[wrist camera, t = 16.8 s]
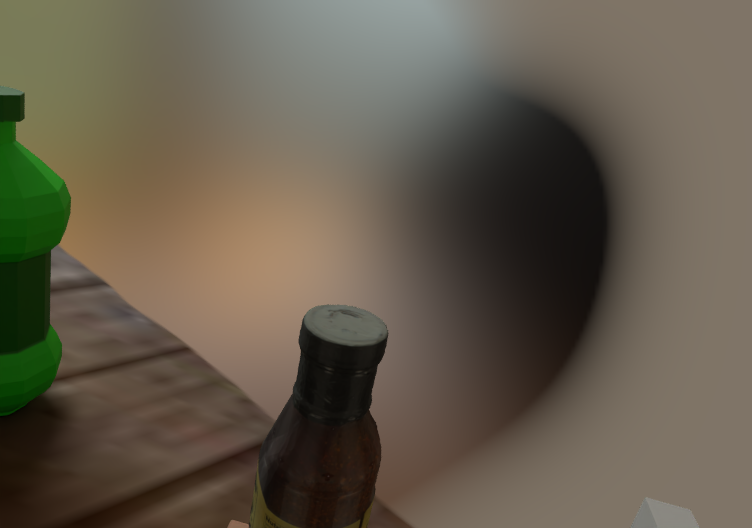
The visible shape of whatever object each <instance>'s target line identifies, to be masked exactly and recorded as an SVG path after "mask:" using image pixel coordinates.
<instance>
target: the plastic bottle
mask: <svg viewBox="0 0 752 528" xmlns="http://www.w3.org/2000/svg"><path fill="white" fill-rule="evenodd" d="M23 119H24V92H22V91H19V90H16V89H13V88H9V87H4V86H0V416H4V415H10V414H11V413H13V412H15V411H16V410H18V409H20V408H22V407H23V406H25V405H27V402H29V401H31V400H33V399H34V398H36V397H37V396H39V395H41V394H42V393H44V392H45V391H46V390H47V389H48V388H49V387H50V386H51V384H52V382H53V380H54V378H55V376H56V374H57V370H58V367H59V363H60V360H61V357H62V343H61V341H60V339H59V337H58V335H57V333H56V332H55V330H54V329H53V327H52V326H51V325H50V277H51V250H52V249H53V248H54V247H55V246H56V245H58V244H59V243H60V241H61V239H62V237H63V234H64V232H65V230H66V227H67V223H68V220H69V216H70V207H71V197H70V194H69V192H68V189H67V187H66V184H65V182H64V180H63V179H61V178H60V177H59V176H58V175H57V174H56V173H54V171H53V170H51V169H50V168H49V167H48V166H47V165H46V164H45V163H44V162H42V161H41V160H40V159H39V158H38V157H36V156H35V155H34V154H32V153H31V152H30V151H29V150H28V149H26V148H25V147H24V146H23V145H21V144H20V143H19V142H17V141H16V122H20V121H22V120H23Z"/></svg>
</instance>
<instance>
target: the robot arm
mask: <svg viewBox="0 0 752 528" xmlns="http://www.w3.org/2000/svg"><path fill="white" fill-rule="evenodd" d="M630 528H699V526H698V524H697V522H696V520H695V518H694V516H693V514H692V512H691V510H689V509H686V508H682V507H678V506H675V505H671V504H668V503H664V502H661V501H657V500H654V499H650V498H645V499H644V501H643V503H642V505H641V507H640V509H639V511H638V513H637V515H636V517H635V519H634V521H633V523H632V525H631V527H630Z"/></svg>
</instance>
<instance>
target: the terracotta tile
mask: <svg viewBox="0 0 752 528" xmlns="http://www.w3.org/2000/svg"><path fill="white" fill-rule="evenodd" d="M227 528H249V525H248V524H245V523H242V522H238V521H235V520H231V522H230V524H229V526H228V527H227Z"/></svg>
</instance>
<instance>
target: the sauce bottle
mask: <svg viewBox="0 0 752 528" xmlns="http://www.w3.org/2000/svg"><path fill="white" fill-rule="evenodd" d="M387 338H388V330H387V327H386V325H385V323H384V322H383V321H382V320H381V319H380V318H379V317H377V316H376V315H374V314H372V313H371V312H368V311H366V310H364V309H360V308H357V307H353V306H347V305H321V306H316V307H314V308H312V309H310V310H309V311H308V312H307V313H306V315H305V316H304V318H303V321H302V327H301V330H300V336H299V345H300V349H301V356H300V363H299V367H298V375H297V380H296V382H295V384H294V387H293V394H292V395H291V397H290V399H289V400H288V402H287V404H286V405H285V407H284V408H283V410H282V412H281V414H280V415H279V417H278V419H277V420H276V422H275V424H274V425H273V427H272V429H271V430H270V432H269V434H268V435H267V437H266V439H265V440H264V442H263V444H262V446H261V449H260V454H259V459H258V467H257V473H256V480H255V488H254V494H253V500H252V507H251V515H250V522H249V528H367V526H368V522H369V518H370V513H371V509H372V505H373V500H374V496H375V483H376V479H377V474H378V471H379V467H380V461H381V444H380V438H379V434H378V430H377V425H376V422H375V421H374V419H373V417H372V416H371V414H370V411H369V408H370V405H371V402H372V395H371V393H372V388H373V385H374V380H375V376H376V372H377V366H378V364H379V363H380V361H381V360H382V358H383V355H384V353H385V348H386V344H387Z"/></svg>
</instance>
